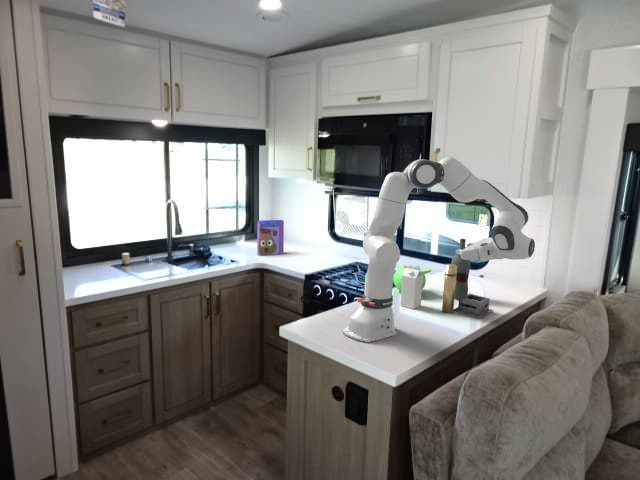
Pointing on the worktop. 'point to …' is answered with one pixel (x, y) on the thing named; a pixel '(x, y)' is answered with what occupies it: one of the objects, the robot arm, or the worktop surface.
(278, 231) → the cereal box
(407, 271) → the milk carton
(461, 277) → the bottle
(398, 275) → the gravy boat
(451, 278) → the brass tube
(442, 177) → the robot arm
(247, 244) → the worktop surface
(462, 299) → the collar stand
